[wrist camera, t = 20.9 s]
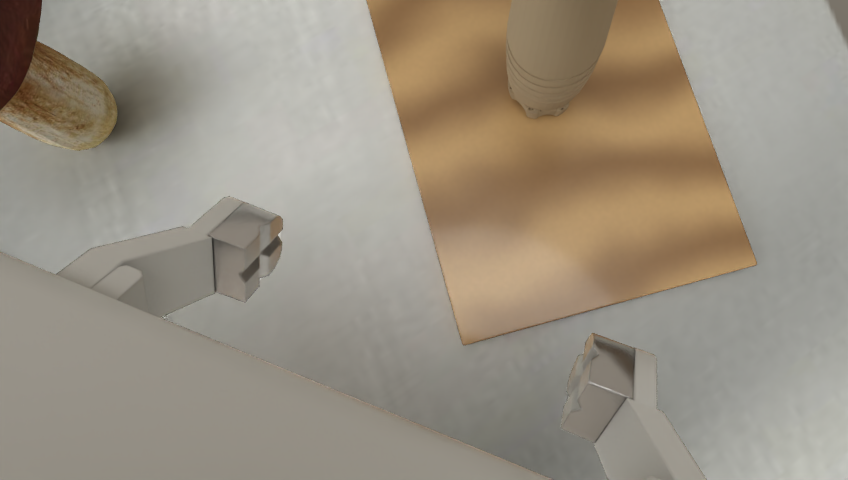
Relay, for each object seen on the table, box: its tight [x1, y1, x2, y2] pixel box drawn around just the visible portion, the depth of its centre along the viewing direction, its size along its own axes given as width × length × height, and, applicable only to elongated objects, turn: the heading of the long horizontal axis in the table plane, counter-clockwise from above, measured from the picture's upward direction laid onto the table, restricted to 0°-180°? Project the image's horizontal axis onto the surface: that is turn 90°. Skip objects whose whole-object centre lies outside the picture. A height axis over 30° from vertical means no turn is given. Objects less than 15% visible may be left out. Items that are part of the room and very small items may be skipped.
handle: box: [506, 0, 618, 119], centre depth 21 cm, size 5×6×15 cm
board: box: [366, 0, 757, 345], centre depth 29 cm, size 22×14×1 cm, turn 16°
